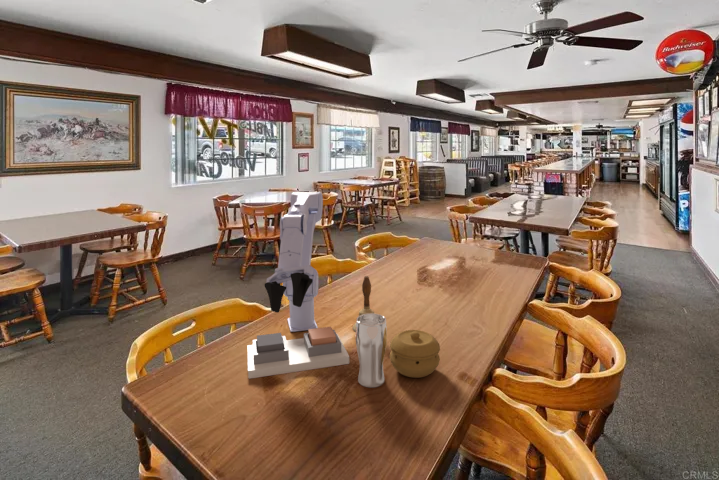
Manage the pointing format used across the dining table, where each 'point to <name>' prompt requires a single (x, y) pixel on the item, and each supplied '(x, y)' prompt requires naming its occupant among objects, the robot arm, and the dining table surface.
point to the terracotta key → (321, 336)
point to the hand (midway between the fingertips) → (285, 308)
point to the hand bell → (365, 298)
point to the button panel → (295, 357)
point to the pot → (414, 353)
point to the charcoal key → (269, 342)
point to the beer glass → (371, 348)
